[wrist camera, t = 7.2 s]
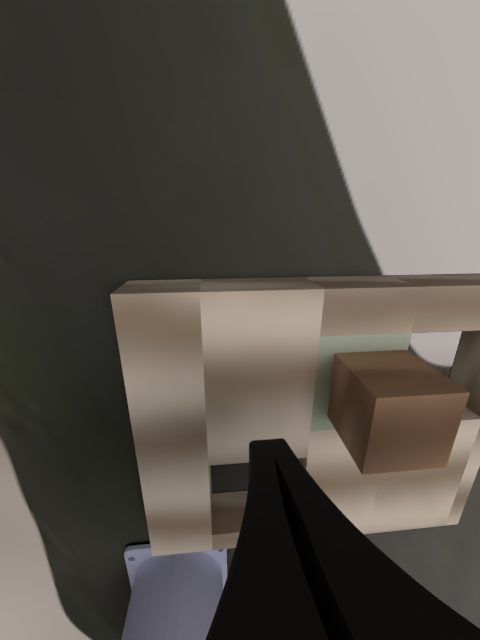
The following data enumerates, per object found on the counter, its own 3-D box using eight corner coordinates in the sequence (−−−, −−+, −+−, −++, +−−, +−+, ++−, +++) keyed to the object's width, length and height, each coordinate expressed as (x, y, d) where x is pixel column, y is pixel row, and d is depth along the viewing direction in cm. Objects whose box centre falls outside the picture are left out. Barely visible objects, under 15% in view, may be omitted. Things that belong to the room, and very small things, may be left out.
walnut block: (392, 411, 17) (446, 467, 13) (327, 415, 16) (362, 474, 12) (406, 349, 15) (470, 392, 11) (335, 353, 15) (376, 398, 11)
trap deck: (428, 487, 24) (457, 524, 21) (160, 512, 22) (152, 556, 19) (493, 273, 18) (547, 283, 15) (128, 280, 16) (110, 294, 13)
